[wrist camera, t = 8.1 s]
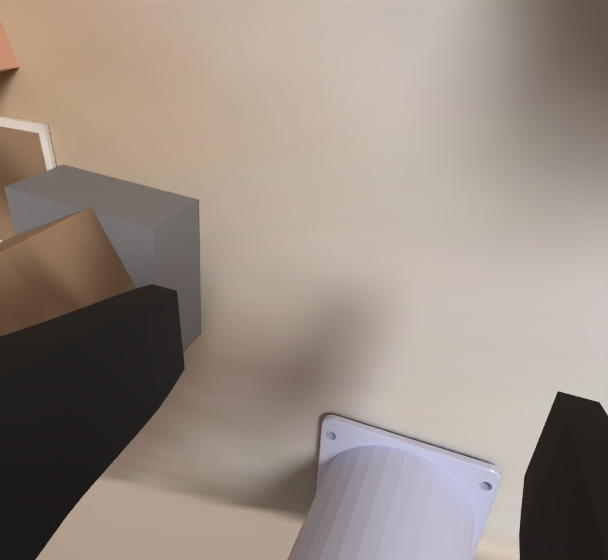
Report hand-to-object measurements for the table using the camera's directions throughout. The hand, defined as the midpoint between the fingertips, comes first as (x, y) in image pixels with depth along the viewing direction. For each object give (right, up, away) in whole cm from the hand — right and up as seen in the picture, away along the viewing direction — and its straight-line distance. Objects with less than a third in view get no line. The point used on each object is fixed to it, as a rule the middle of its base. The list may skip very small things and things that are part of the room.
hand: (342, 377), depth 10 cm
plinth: (-8, +3, +15) cm, 17 cm away
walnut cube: (-10, +2, +12) cm, 15 cm away
